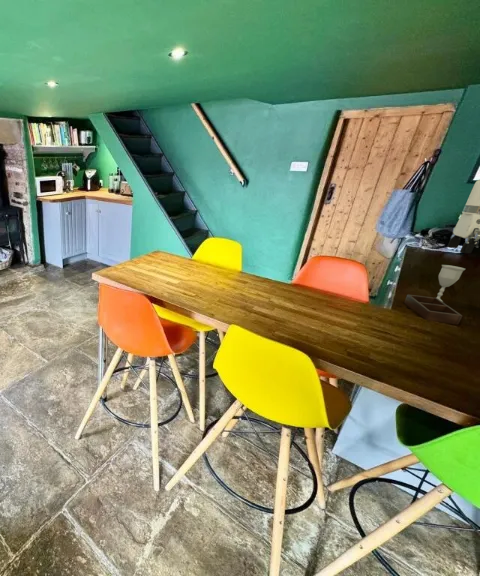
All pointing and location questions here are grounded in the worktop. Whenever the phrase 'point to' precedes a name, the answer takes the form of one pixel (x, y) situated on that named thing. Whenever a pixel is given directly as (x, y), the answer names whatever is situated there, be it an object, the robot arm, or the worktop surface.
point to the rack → (432, 309)
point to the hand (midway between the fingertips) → (458, 250)
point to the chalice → (448, 277)
